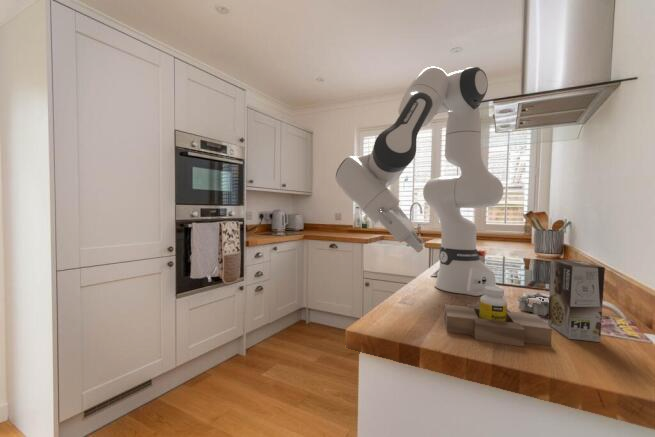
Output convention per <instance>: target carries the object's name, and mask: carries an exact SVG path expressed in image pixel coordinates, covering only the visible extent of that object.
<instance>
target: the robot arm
mask: <svg viewBox="0 0 655 437" xmlns="http://www.w3.org/2000/svg"><path fill="white" fill-rule="evenodd" d="M488 87H489V84H488V78H487V74H486V73H485V71H484V70H483V69H482V68H480V67H479V66H472V67H466V68H464V69H461V70H458V71H454V72H450V73H448V74H447V73H446V72H445V70H444V69H442V68H440V67H436V66H431V67H426V68H424V69H423V70H422V71H421V72H420V73H419V74H418V75H417V76H416V77H415V78H414V80H413V81H412V82H411V84H409V86H408V88H407V90H406V91H405V92H404V95H403V96H402V98H401V101H400V104H399V108H398V115H399V116H398V117H397V119H396V121H395V123H394V124H392V125H391V126H389V127H388V128H386V129H384V130H383V131H381V133H379V135H378V136H377V137H376V139H375V141H374V145H373V148H372V151H371V153H368V154H366V155H360V156H354V155H353V156H352V155H349V156H346V158H345V159H343V161H342V162H341V163H340V164H339V166H338V168H337V170H336V173H335V181H336V183H337V184H338V186H339V187H340V189H342V191H343V192H344V193H345V195H346V196H348V198H349V199H350V200H351V201H352V202H354V203H356V204H357V205H358V206H359V208H360V210H361V211H362V212H363V213H364V214H365V216H367V218H368V219H369V220H370V221H371V222H372V223H373V224H374V225H377V224H378V223H380V224H381V226H382V227H384V228H385V229H386V231H387V232H389V233H390V234H391V236H392V237H393V238H394V239H395V240H396V241H397V242H399V243H403V241H404V242H405V243H406V244H407V245H408V246H410V247H411V248H413V250H414V251H415V252H417V253H420V252H422V251H423V250H424V246H423V245H424V241H423V239H421V237H420V236H419V235H418V234H417V232H416V231H415V230H414V227H415V226H414V224H413V222H412V221H411V219H410V218H409V217H408V216H407V215H406V213H405V212H404V211H403V210H402V208H401V207H400V204H399V203H400V202H401V200H400V199H399V198H398V197H397V196H396V195H395V194H394V193H393V192H392V191H391V190H390V189H389V188H388V187H389V186H391V185H394V184H395V183H396V181H398V180H399V178H400V176H401V175H402V174H403V172H404V171H405V170H406V168H407V167H408V166H409V165H410V164H411V163H412V162H413V160H414V158H415V156H416V153H417V138H418V137H417V136H418V134H419V132H420V130H421V128H423V127H426V126H428V125H429V123H430V122H431V121H432V120H433V119H434V118H435V116H436V115H437V114H442V113H447V115H448V116H447V120H446V127H445V146H444V157H445V159H446V161H447V162H448V163H449V164H450V165H453V166H455V167H458V168H459V169H460V172H461V173H460V175H453V176H452V175H450V176H440V177H436V178H435V177H434V178H431V179H429V180H428V181H426V183H425V185H424V187H423V191H422V195H423V199H424V201H425V202H426V204H427V205H429V206H430V207H431V209H433V210H434V212H435V214H436V215H437V218H438V219H439V222H440V227H441V229H440V230H441V232H440V233H441V234H440V235H441V236H440V238H441V241H440V242H441V245H440V247H439V268H438V272H437V277H436V281H435V283H434V287H435V288H437V289H439V290H441V291H445V292H448V293H455V294H463V295H469V296H473V297H474V296H475V297H476V296H483V295H485V293H484V287H485V286H495V287H500V288H503V287H502V286H500V285H498V284H496V275H495V273H494V271H493V270H492V269H490V267H489V266H487V265H486V264H485V263H483V261H482V260H481V259H480V258H481V257H486V255H487V251H486V250H481V249H479V250H478V249H477V230H478V229H477V227H476V225H475V224H474V222H472V221H471V220H470V219H467V218H466V217H464V216H463V215H462V213H461V209H484V208H490V207H495V206H496V205H497V204H499V203H500V202H501V200H502V199H503V196H504V185H503V183H502V181H501V180H500V179H499V178H498V177H497V176H495V175H494V174H493V173H491V171H490V170H488V168H487V167H486V166H485V164H484V160H483V158H482V144H481V141H482V140H481V139H482V138H481V137H482V120H481V113H480V112H481V111H480V108H479V107H480V105H481V104H482V101H483V100H484V98H485V97H486V94H487V91H488ZM480 256H481V257H480Z"/></svg>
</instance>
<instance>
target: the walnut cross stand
mask: <svg viewBox="0 0 655 437" xmlns="http://www.w3.org/2000/svg"><path fill="white" fill-rule="evenodd" d="M466 304H467V306H464V305H455V304H447V303H445V304H444V314H443V315H444V316H443V318H444V323H445V329H446V332H447V333H454V334H455V333H456V334H464V335H472V336H473V338H474V340H475V341H483V342H489V343H495V344H502V345H503V344H504V345H511V346H517V347H525V343H527V344H535V345H542V346H550V347H551V346H552V334H553V333H552V332H553V329H552V327H551V326H550V325H548V323H546V322H545V321H544V320H543V319H542V318H541V317H540V315H536V314H533V313H529V312H528V313H527V312H517V311H510V310H509V309H508V308H507V312H506V322H504V321H496V320H487V319H479V312H480V304H474V303H472V304H471V303H466Z"/></svg>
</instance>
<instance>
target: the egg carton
mask: <svg viewBox="0 0 655 437" xmlns="http://www.w3.org/2000/svg"><path fill="white" fill-rule="evenodd" d="M536 297H543V298H548V299H549V296H547V295H542V293H539V292H537V293H535V294H532V295H530V294H528V295H527V296H523V297H522V296H518V297H517V302H519V304H518V309H520V310H521V311H522V312H531V313H532V314H536V315H538V316H545V317H546V316H547V314H549V303H548V302H541V304H537V303H533V305H531V304H529V299H528V298H536ZM539 299H540V300H541V298H539ZM542 301H544V299H542Z"/></svg>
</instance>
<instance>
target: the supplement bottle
mask: <svg viewBox="0 0 655 437" xmlns="http://www.w3.org/2000/svg"><path fill="white" fill-rule="evenodd" d="M500 287H501V286H500ZM500 287H495V286H485V287H484V293H485V295H481V296H480V300H479V305H480V312H479V319H487V320H496V321H504V322H506V312H507V309H508V302H507V300H506V298H504V296H505V289H504V288H503V287H502V288H500Z"/></svg>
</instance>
